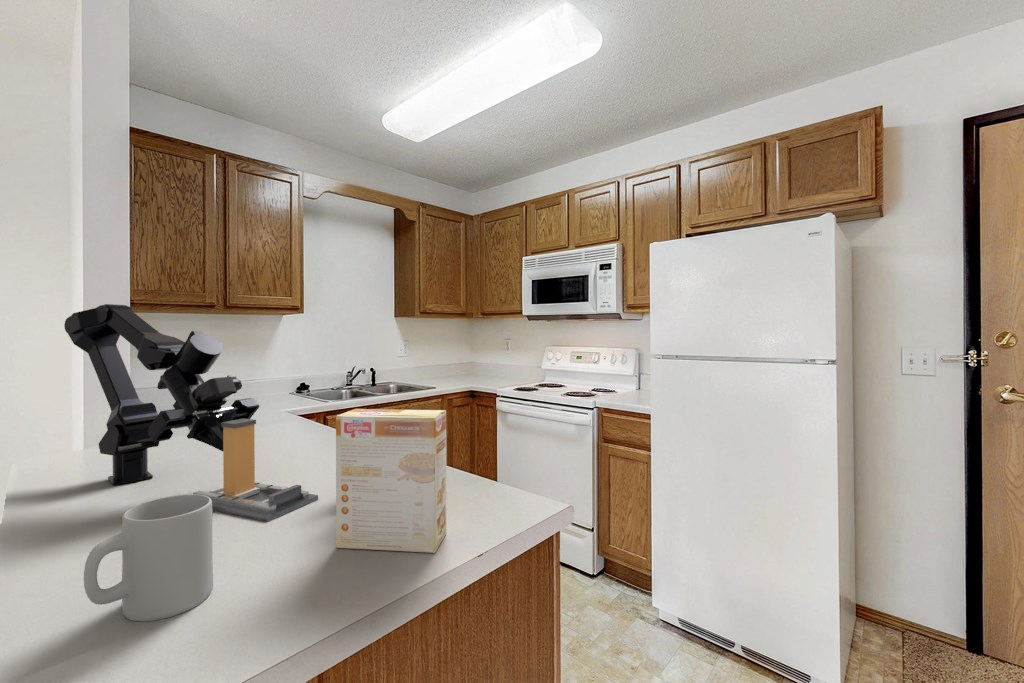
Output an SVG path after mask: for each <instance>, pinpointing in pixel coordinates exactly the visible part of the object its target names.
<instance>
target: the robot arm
mask: <svg viewBox="0 0 1024 683" xmlns="http://www.w3.org/2000/svg"><path fill="white" fill-rule="evenodd" d="M64 331H65V332H66V333H67V334H68V337H69V339H70V340H71V341H72V344H73V345H74V346H76V347H77V348H79V349H80V350H82V351H84V352H85V353H87V354H88V356H89V359H90V361H91V364H92V366H93V367H92V368H94V371H95V374H96V376H97V378H98V381H99V383H100V384H99V385H100V386H101V389H102V391H103V393H104V395H105V398H106V401H107V403H108V405H109V408H110V410H111V412H110V414H109V416H108V419H107V421H106V423H105V425H106V428H107V431H106V432H105V434H104V435H103V436H102V438H101V439H100V441H99V442H98V449H99V453H100V454H102V455H107V456H108V455H109V456H112V475H109V476H107V479H108V481H109V482H110V483H111V484H112V485H113V486H117V485H121V484H122V485H123V484H127V483H132V482H133V483H134V482H138V481H144V480H150V479H153V477H154V476H153V474H152V473H150V471H148V470H149V469H148V468H149V467H148V464H149V462H148V461H149V460H148V456H149V455H148V449H151V448H157V447H159V445H160V442H163V441H168V440H170V439H171V438H172V436H173V434H174V432H173V431H172V430H173V429H180V428H181V429H182V428H188V431H189V432H188V433H187V435H186V437H187V439H188V440H190V439H193V440H196V441H199V442H200V443H201V442H202V443H204V444H206V445H209V446H210V447H212V448H215V449H216V450H219V451H221V452H223V427H221V423H222V422H227V421H232V420H238V419H252V417H253V416H254V414H255V413H256V411H258V410H259V408H260V405H259V403H258V402H257V399H255V398H252V397H249V398H241V399H235V400H234V401H233V403H232V404H231V405H230V406H229V407H226V408H225V407H224V408H223V407H222V406H224V405H225V404H226V403H227V402H228V399H227V398H228V397H230V396H231V395H233V394H234V395H235V394H236V393H238V391H239V390H241V389H242V388H243V384H242V381H241V378H239V377H238V376H237V374H228V375H226V376H224V377H223V376H222V377H214V378H210V379H208V380H205V381H204V379H203V378H202V376H201V375H203V374H207V373H208V372H209V371H210V369H211V368H212V366H213V365H214V363H215V362H216V361H217V360H218V358H219V357H220V355H221V354H222V352H223V350H224V346H223V344H222V343H221V341H219V340H217V339H216V338H214V337H212V336H210V335H208V334H205V333H204V332H203V331H202V330H191V331H190V333H189V334H188V337H187V339H186V340H185V341H184V340H181V339H179V338H177V337H175V336H171V335H167V334H163V333H161V332H159V331H158V330H157V329H155V328H154V327H153V326H152V325H150V323H148V322H146V321H145V320H144V319H143V318H142V317H140V316H139V315H138V314H137V313H135V312H134V311H133V308H132V307H131V306H128V305H125V304H112V303H111V304H110V303H105V304H101V305H99V306H97V307H94V308H89V309H86V310H82V311H78V312H73V313H72V314H71V315H70V316H68V317H67V318H66V319H65V320H64ZM120 336H121V337H122V338H123V339H124V340H125V341H126V342H128V343H129V344H130V345H132V346H133V347H134V348H135V349H136V350H137V354H136V358H137V359H138V361H139V362H140V363H141V364H142V365H143V367H144V368H146V370H148V371H160V370H161V371H162V370H165V371H164V372H163V373H162V375H160V378H159V381H158V383H157V389H158V390H165V389H166V390H168V391H169V393H170V395H171V396H172V397H173V399H174V401H175V402H174V403H173V405H172V407H173V409H166V410H161V411H160V412H158V411H157V407H156V404H154V402H145V403H144V402H143V401H141V399H140V398H139V396H138V393H137V391H136V389H135V388H136V387H135V386H134V383H133V381H132V379H131V377H130V376H131V375H129V372H128V370H127V367H126V365H125V362H124V360H123V358H122V355H121V353H120V351H119V349H118V346H117V344H118V340H119V339H120Z"/></svg>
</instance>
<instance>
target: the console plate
mask: <svg viewBox="0 0 1024 683" xmlns="http://www.w3.org/2000/svg"><path fill="white" fill-rule="evenodd" d="M255 487H257V488H260V492H259V493H257V494H254V495H251V496H248V497H246V498H243V499H242V498H239V497H232V496H226V495H221V494H218V493H219V492H222V491H224V487H223V488H220V489H216V490H213V491H205V490H196V491H194V492H192V495H204V496H207V497H209V498H211V500H212V511H213V512H220V513H224V514H228V513H229V514H230V515H233V514H234V516H238V515H239V517H244V518H248V517H249V518H250V519H254V520H258V519H259V520H258V521H263V520H264V521H263V522H271V521H273V520H275V519H277V518H279V516H280V517H281V516H284V515H287V514H288V512H289V513H291V512H293V511H295V510H298V509H300V508H302V507H304V506H306V505H308V504H310V503H313V502H316V501H318V500H319V495H318V494H313V493H309V490H308V491H307V490H303V489H302V485H301V484H294V485H292V486H290V487H288V486H279V485H273V484H267V483H260V482H255ZM272 519H273V520H272ZM270 520H271V521H270Z"/></svg>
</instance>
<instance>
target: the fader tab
mask: <svg viewBox="0 0 1024 683" xmlns="http://www.w3.org/2000/svg"><path fill="white" fill-rule="evenodd" d="M256 424H257V419H253V418H250V419H238V420H232V421H227V422H222V423H221V427H223V451H222V452H223V458H222V459H223V464H222V465H223V472H222V473H223V488H224V491H222V492H219V493H218V494H221V495H226V496H232V497H239V498H242V499H243V498H246V497H248V496H251V495H254V494H257V493H259V492H260V488H257V487H255V483H256V481H255V480H256V478H255V458H256V457H255V456H256V455H255V425H256Z"/></svg>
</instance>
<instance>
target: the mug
mask: <svg viewBox="0 0 1024 683" xmlns="http://www.w3.org/2000/svg"><path fill="white" fill-rule="evenodd" d="M121 520H122V521H121V533H118V534H115V535H113V536H110V537H108V538H106V539H104V540H102V541H100V542H99V543H97V544H96V545H95V546H94V547H93V548H92V549H91V551H89V554H88V556H87V558H86V560H85V564H84V570H83V586H84V587H83V588H84V592H85V594H86V597H87V599H89V600H90V602H91V603H93V604H95V605H107V604H111V603H115V602H116V601H117V602H118V601H120V600H121V604H122V605H121V608H122V614H123V616H124V617H125V618H126V619H127V620H130V621H134V622H153V621H159V620H164V619H167V618H171V617H174V616H177V615H180V614H183V613H186V612H188V611H189V610H191V609H194V608H196V607H197V606H199V605H200V604H202V603H203V602H204V601H205V600H207V599H208V597H209V596H210V595H211V594H212V591H213V588H214V567H213V565H214V562H213V561H214V560H213V554H214V552H213V548H214V547H213V545H214V544H213V510H212V500H211V498H209V497H207V496H204V495H193V494H177V495H173V496H172V495H171V496H165V497H159V498H156V499H152V500H148V501H146V502H143V503H139V504H137V505H135V506H133V507H130V508H129V509H127V510H126V511H125V512H124V513H123V515H122V519H121ZM118 551H120V552H121V551H122V553H121V555H122V557H121V558H122V563H121V566H122V567H121V581H120V582H118V583H117V584H115V585H113V586H111V587H109V588H101V587H100V585H99V582H98V581H99V580H98V571H99V566H100V564H101V562H102V560H103V559H104V558H105V556H107V555H109V554H110V553H111V554H112V553H113V552H118Z"/></svg>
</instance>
